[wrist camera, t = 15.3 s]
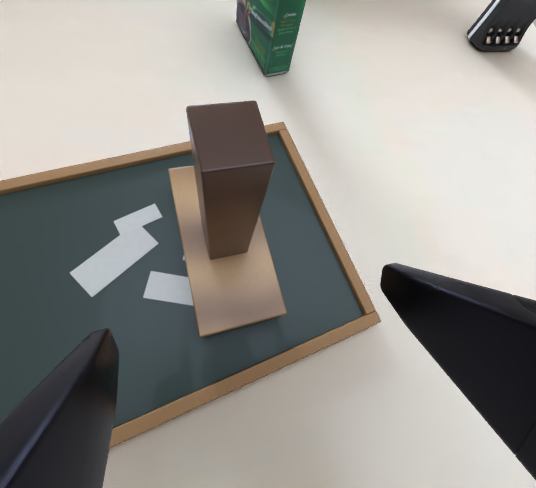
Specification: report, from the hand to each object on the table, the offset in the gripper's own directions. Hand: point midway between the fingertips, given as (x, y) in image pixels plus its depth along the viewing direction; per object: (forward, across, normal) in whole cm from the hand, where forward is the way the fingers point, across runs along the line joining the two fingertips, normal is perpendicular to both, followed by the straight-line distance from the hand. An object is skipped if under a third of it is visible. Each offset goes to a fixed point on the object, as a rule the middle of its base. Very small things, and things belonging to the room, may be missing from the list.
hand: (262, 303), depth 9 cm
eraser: (+11, 0, +4) cm, 12 cm away
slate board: (+11, +5, +4) cm, 13 cm away
